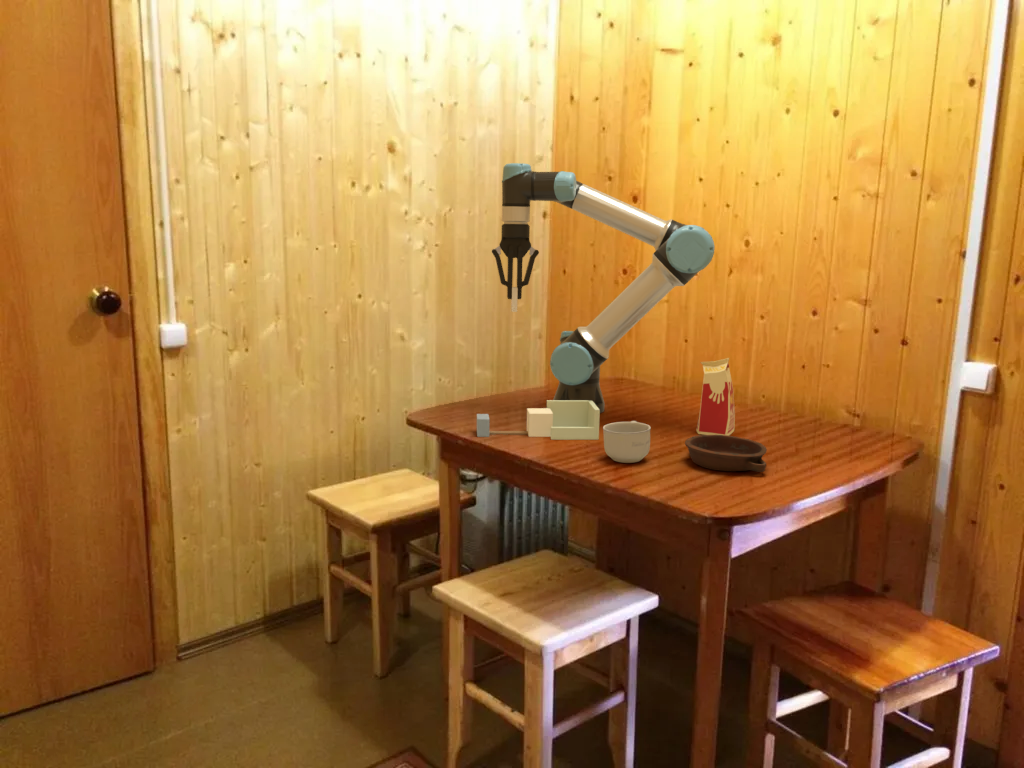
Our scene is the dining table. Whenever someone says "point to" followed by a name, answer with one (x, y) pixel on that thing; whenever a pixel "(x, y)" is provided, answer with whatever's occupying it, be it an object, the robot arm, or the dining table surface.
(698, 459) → the dish
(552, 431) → the shelf lane
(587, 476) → the dining table surface
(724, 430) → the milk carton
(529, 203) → the robot arm
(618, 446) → the teacup
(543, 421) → the tethered block
